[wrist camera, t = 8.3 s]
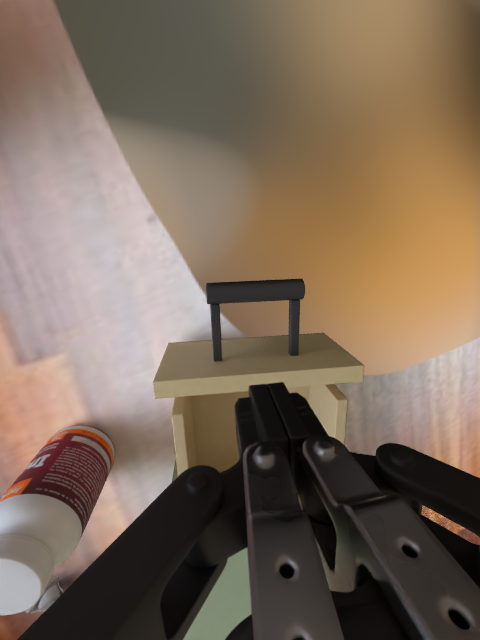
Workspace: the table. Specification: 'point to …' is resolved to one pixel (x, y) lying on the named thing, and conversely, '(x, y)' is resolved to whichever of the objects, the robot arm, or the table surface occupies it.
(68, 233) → the table surface
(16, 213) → the table surface
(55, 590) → the soldier figure
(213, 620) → the cabinet
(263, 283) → the drawer
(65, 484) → the pill bottle
